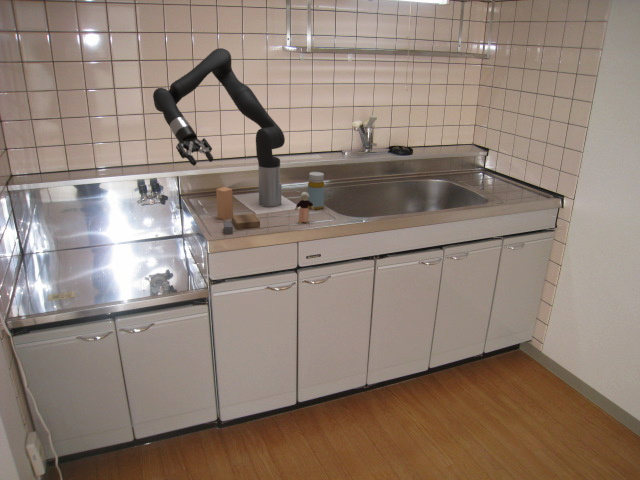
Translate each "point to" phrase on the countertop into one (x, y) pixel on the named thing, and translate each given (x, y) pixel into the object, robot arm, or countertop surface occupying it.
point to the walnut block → (245, 221)
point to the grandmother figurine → (304, 208)
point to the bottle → (316, 190)
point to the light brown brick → (224, 203)
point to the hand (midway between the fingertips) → (203, 162)
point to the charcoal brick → (228, 227)
